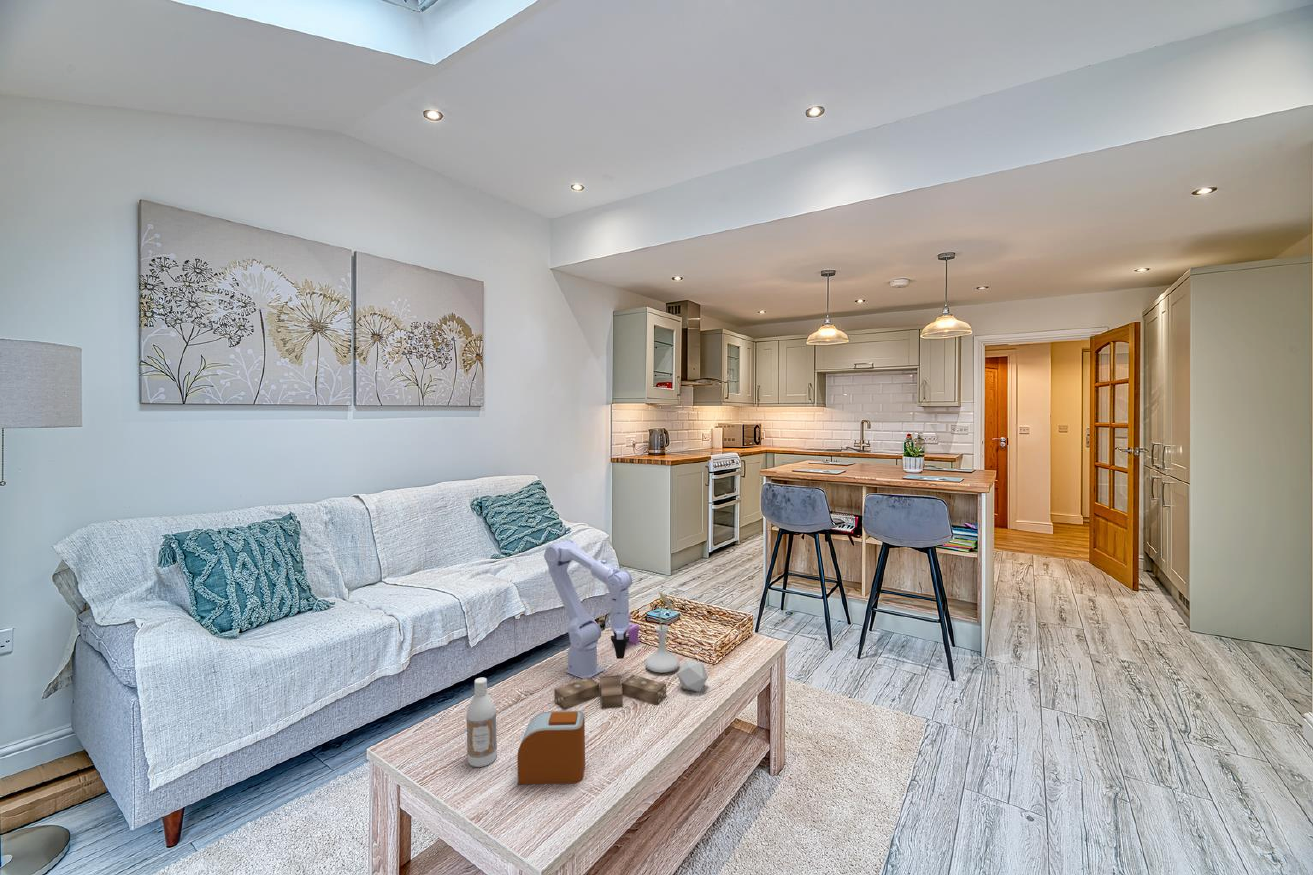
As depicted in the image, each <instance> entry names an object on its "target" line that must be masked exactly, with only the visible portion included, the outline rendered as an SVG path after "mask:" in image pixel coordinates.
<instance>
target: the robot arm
mask: <svg viewBox="0 0 1313 875" xmlns="http://www.w3.org/2000/svg"><path fill="white" fill-rule="evenodd" d="M543 558H544V560H545V562H546V564H547V568H548V572H549V575H550V577H551V579H552V582H553V584H554V587H555V589H556V591H557V592H558V594H559V598H560V600H561V602H562V604H563V606H564V609H565V611H566V614H567V616H568V619H569V620H570V622H569V625H568V627H567V633H568V635H569V643H570V645H569V648H568V649H567V669H566V671H565V672H566V673H567V674H569V675H573V676H574V677H577V678H580V679H584V678H587V677H590V678H591V679H592V678H594V676H596V675H598V674H600V673H601V672H603V671H604V670H603V668H600V667H598V652H597V651H598V649H597V648H598V647H597V646H598V644H599V639H601V637H602V629H601V627H600V625H599V624H598V623H597V621H595V618H594V617H593V616H592V615H589V614H587V612H586V610H585V608H584V607H583V604H582V602H581V600H580V597H579V595H578V593H577V591H576V587H575V585H574V583H573V582H572V580H571V576H570V575H569V573H568V568H569V566H570V564H571V563H572V561H574V562H575V563H577V564H580V565H581V566H583V567H584V568H586V569H588V570H590V573H591V575H592V577H594V578H596V579H597V580H599V581H600V582H602V583H603V584H604V585H606V589H607V590H608V594H609V597H610V625H609V628H610V629H611V631H612V633H613V635H610V641H611V642H612V645H614V648H613V649H614V652H615V657H616V659H617V660H618V659H619V660H623V659H624V658H625V656H626V655H625V654H626V648H627V645H628V642H630V641H629V636H628V635H626V632H627V629H628V628H629V627H632V626H633V623H634V622H631V623H629V622H630V621H629V613H630V611H629V610H630V607H629V606H630V605H629V604H630V602H629V600H630V597H629V588H630V587H631V586H632V583H633V578H632V575H631V574H630V572H629V571H628V570H626V569H621V570H620V569H618V568H617V567H614V566H612V565H611V564H609V563H608V562H607V560H605V559H599V560H598V559H595V558H593V556H591V555H589V553H587V552H586V551H584V550H583V549H582V548H580V547H579V544H578V543H577V542H575V541H573V540H572V539H569V538H568V539H565V540H563V541H559V542H555V543H551V544H548V545H547V546H546V548H545V551H544V554H543ZM625 635H626V636H625Z"/></svg>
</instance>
